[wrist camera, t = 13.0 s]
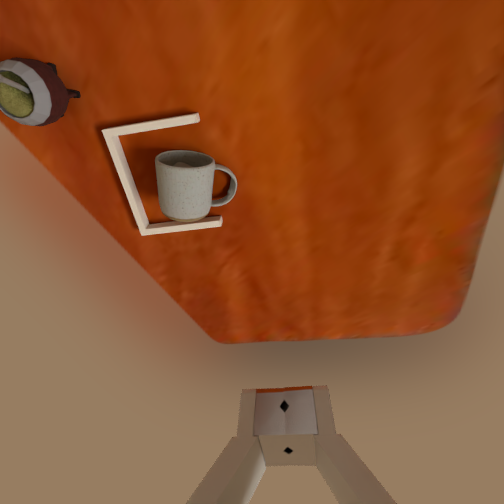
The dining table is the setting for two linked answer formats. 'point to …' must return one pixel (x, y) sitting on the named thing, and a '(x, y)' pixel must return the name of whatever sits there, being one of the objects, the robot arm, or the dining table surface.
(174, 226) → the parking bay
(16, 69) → the mate gourd
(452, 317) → the dining table surface
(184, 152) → the ceramic mug
